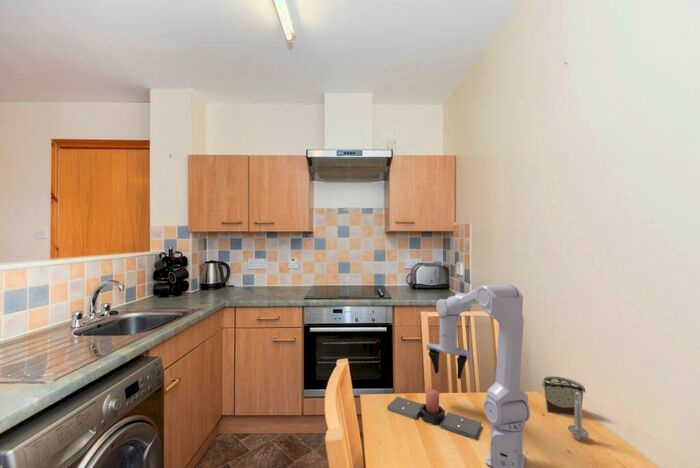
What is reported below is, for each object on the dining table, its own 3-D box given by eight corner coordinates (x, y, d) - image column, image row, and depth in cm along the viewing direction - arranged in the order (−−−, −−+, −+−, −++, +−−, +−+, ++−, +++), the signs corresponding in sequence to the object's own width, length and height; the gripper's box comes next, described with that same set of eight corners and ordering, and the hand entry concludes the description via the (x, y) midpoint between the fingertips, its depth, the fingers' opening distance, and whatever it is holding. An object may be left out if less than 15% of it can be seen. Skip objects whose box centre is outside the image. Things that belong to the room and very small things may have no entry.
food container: (577, 408, 105) (577, 378, 106) (586, 417, 100) (585, 386, 100) (536, 402, 109) (536, 373, 109) (542, 411, 103) (542, 381, 103)
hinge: (475, 439, 87) (475, 430, 87) (387, 409, 102) (387, 401, 102) (481, 426, 94) (481, 417, 94) (397, 399, 109) (397, 392, 109)
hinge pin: (436, 422, 95) (436, 396, 95) (424, 418, 97) (424, 392, 98) (440, 416, 98) (440, 391, 99) (428, 412, 101) (428, 387, 101)
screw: (569, 440, 88) (566, 431, 92) (590, 445, 85) (586, 436, 90) (569, 393, 88) (566, 386, 92) (590, 397, 86) (586, 390, 90)
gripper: (472, 335, 105) (472, 376, 105) (431, 328, 113) (430, 366, 113) (468, 340, 100) (468, 383, 99) (424, 333, 107) (424, 372, 107)
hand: (447, 375), depth 105 cm, fingers open, 7 cm apart
